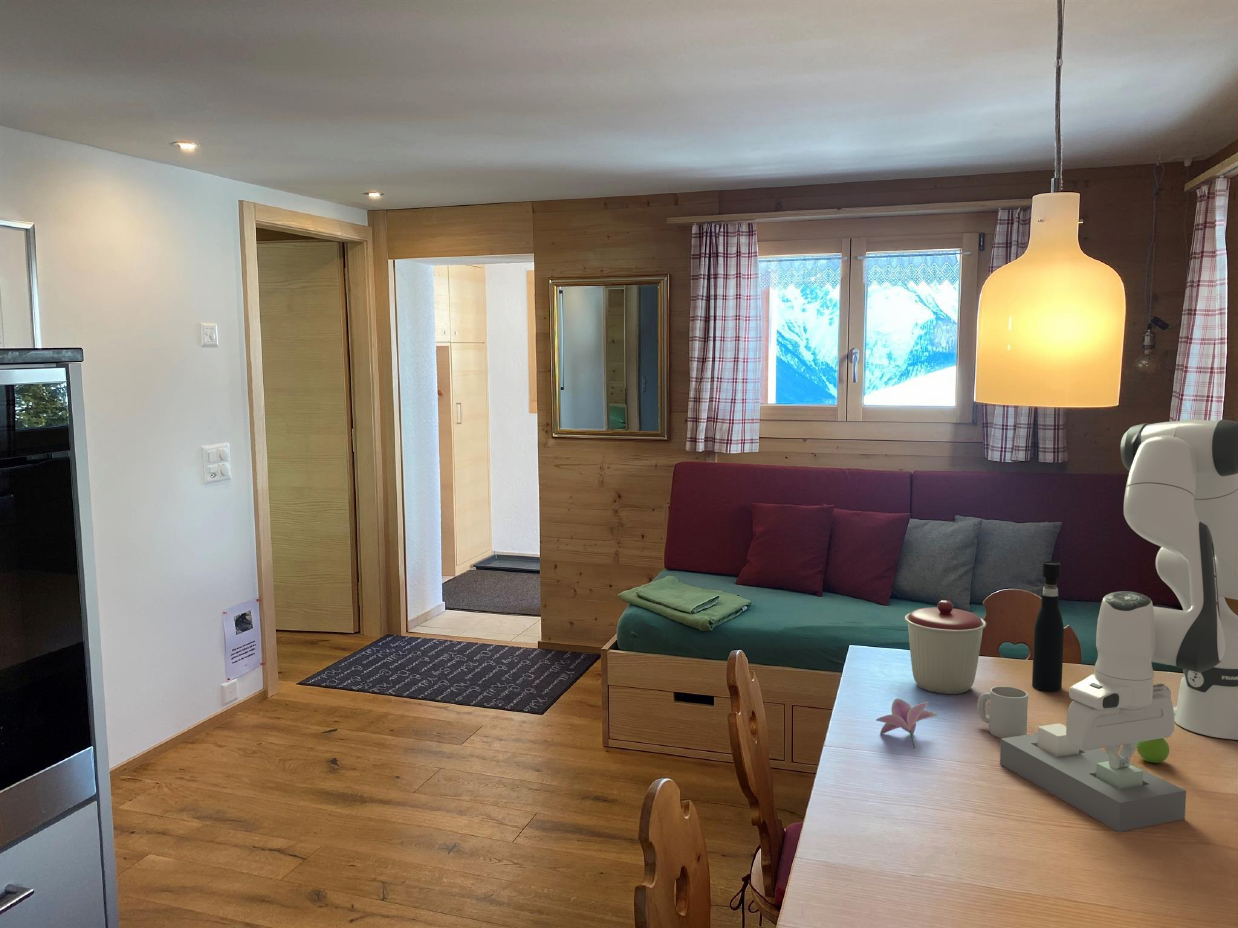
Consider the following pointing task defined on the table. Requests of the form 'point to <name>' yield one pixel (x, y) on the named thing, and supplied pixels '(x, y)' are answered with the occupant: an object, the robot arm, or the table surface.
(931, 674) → the canister
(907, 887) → the table surface
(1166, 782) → the key console
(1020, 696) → the cup
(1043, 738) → the white key
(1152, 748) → the snail figurine
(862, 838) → the table surface
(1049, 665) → the wine bottle
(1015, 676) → the table surface
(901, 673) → the table surface
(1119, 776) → the pale green cube
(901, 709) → the lily
